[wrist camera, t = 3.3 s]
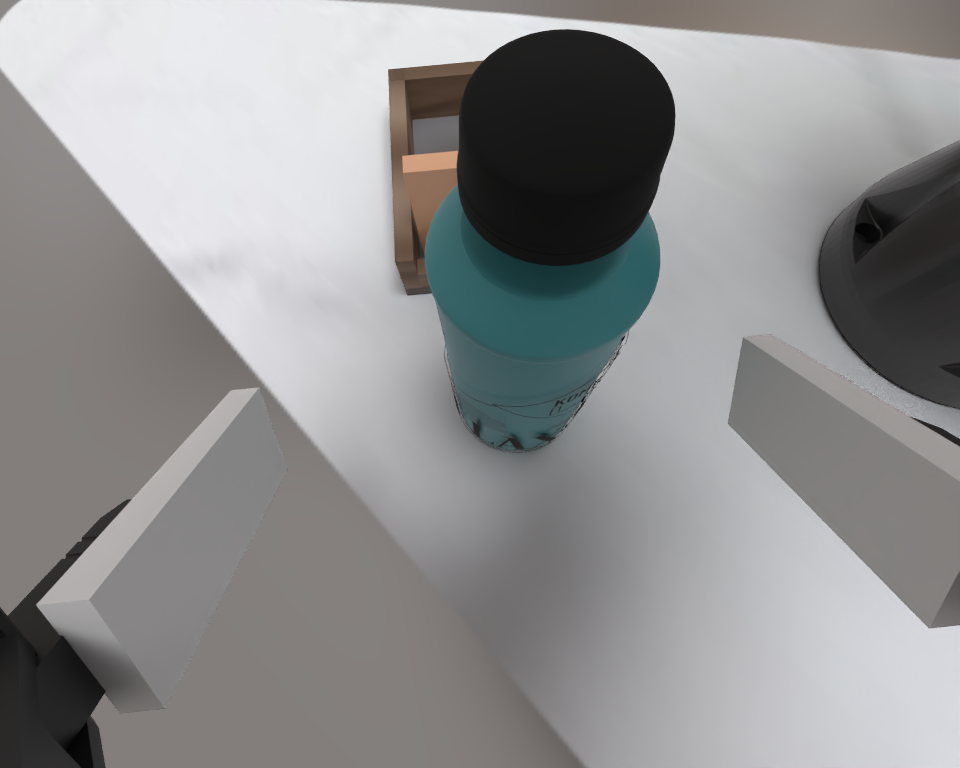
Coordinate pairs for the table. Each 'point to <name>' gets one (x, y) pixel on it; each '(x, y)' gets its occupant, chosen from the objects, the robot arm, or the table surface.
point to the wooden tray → (421, 147)
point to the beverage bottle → (547, 227)
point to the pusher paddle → (428, 185)
